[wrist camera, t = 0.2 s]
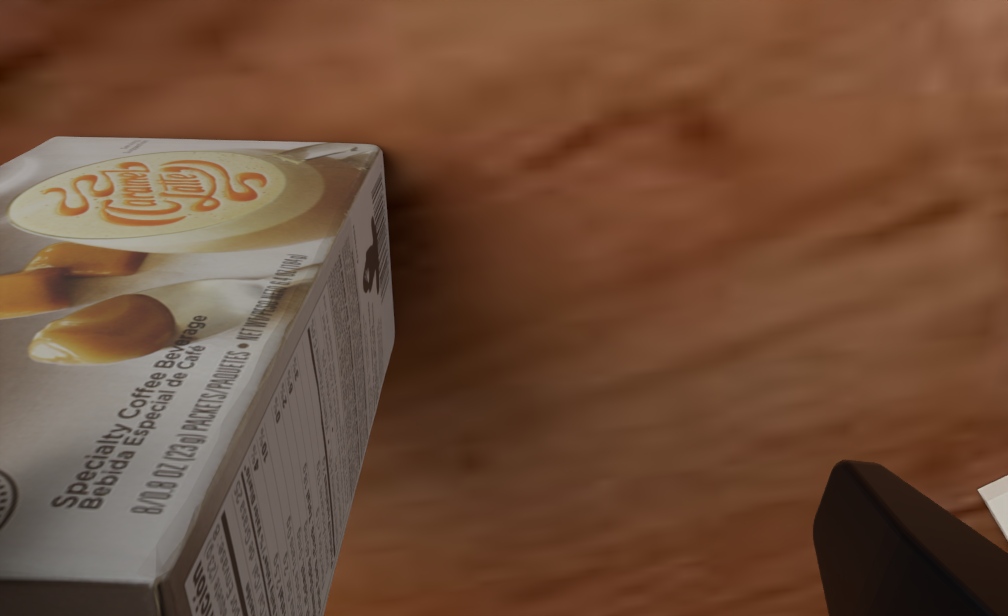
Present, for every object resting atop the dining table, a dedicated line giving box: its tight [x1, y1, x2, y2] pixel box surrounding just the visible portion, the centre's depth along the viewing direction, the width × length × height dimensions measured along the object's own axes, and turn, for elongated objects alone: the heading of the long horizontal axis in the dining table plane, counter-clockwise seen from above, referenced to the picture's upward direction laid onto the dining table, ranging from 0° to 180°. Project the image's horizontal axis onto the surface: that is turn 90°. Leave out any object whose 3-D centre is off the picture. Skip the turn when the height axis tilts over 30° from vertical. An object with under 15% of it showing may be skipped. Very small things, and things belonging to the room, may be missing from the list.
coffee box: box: [0, 137, 395, 616], centre depth 16 cm, size 9×6×16 cm
